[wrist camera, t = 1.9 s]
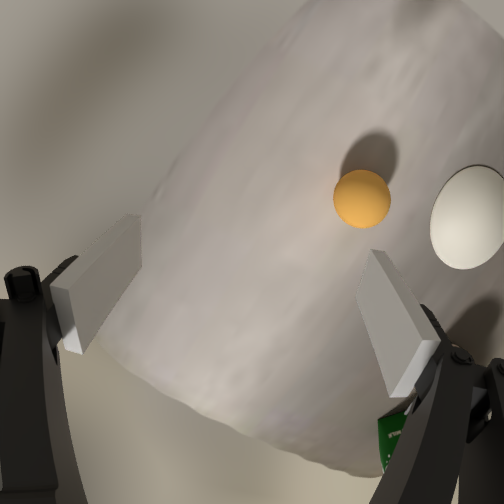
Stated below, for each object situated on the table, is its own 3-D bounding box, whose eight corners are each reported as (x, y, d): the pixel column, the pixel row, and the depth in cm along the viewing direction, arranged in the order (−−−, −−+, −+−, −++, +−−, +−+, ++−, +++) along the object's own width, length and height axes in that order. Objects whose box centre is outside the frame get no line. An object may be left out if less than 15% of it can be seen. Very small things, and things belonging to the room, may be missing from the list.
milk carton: (419, 402, 45) (450, 500, 27) (419, 426, 49) (443, 513, 31) (371, 418, 47) (391, 520, 29) (376, 441, 51) (392, 530, 33)
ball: (385, 171, 30) (405, 184, 25) (373, 220, 33) (389, 241, 28) (334, 159, 30) (347, 170, 25) (323, 211, 33) (333, 232, 28)
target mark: (521, 182, 29) (522, 182, 29) (490, 274, 34) (491, 274, 34) (447, 152, 29) (447, 152, 28) (415, 261, 34) (416, 261, 34)
